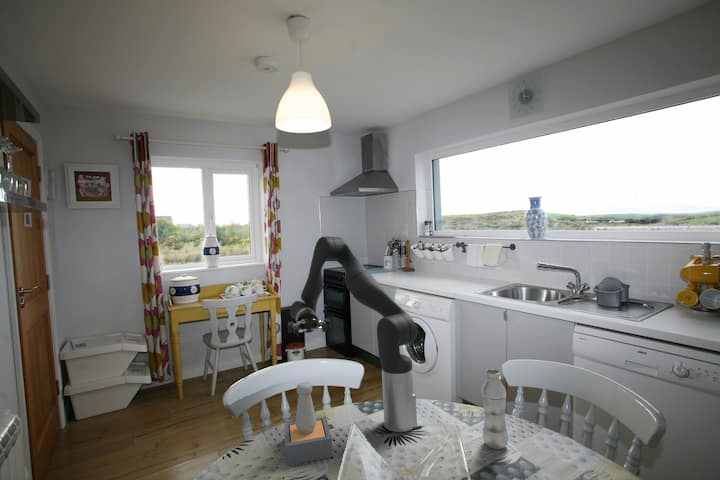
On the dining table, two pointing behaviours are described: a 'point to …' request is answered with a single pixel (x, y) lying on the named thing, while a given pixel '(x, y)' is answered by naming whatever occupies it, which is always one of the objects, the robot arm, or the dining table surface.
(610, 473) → the dining table surface
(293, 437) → the orange block
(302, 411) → the salt shaker
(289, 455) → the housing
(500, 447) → the plastic bottle
